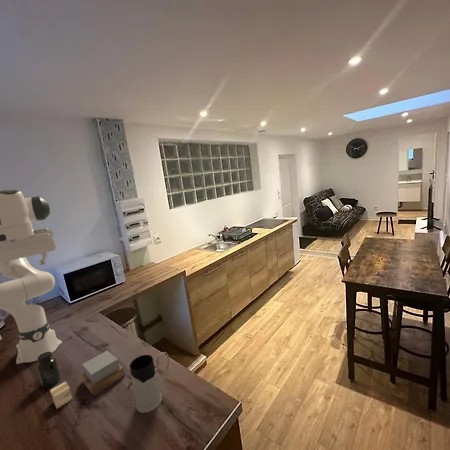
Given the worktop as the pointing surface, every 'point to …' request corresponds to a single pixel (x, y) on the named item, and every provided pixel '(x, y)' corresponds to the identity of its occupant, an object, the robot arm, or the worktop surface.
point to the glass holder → (146, 382)
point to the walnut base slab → (103, 381)
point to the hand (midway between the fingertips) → (28, 268)
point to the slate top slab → (100, 366)
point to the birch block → (61, 394)
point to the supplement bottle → (48, 369)
